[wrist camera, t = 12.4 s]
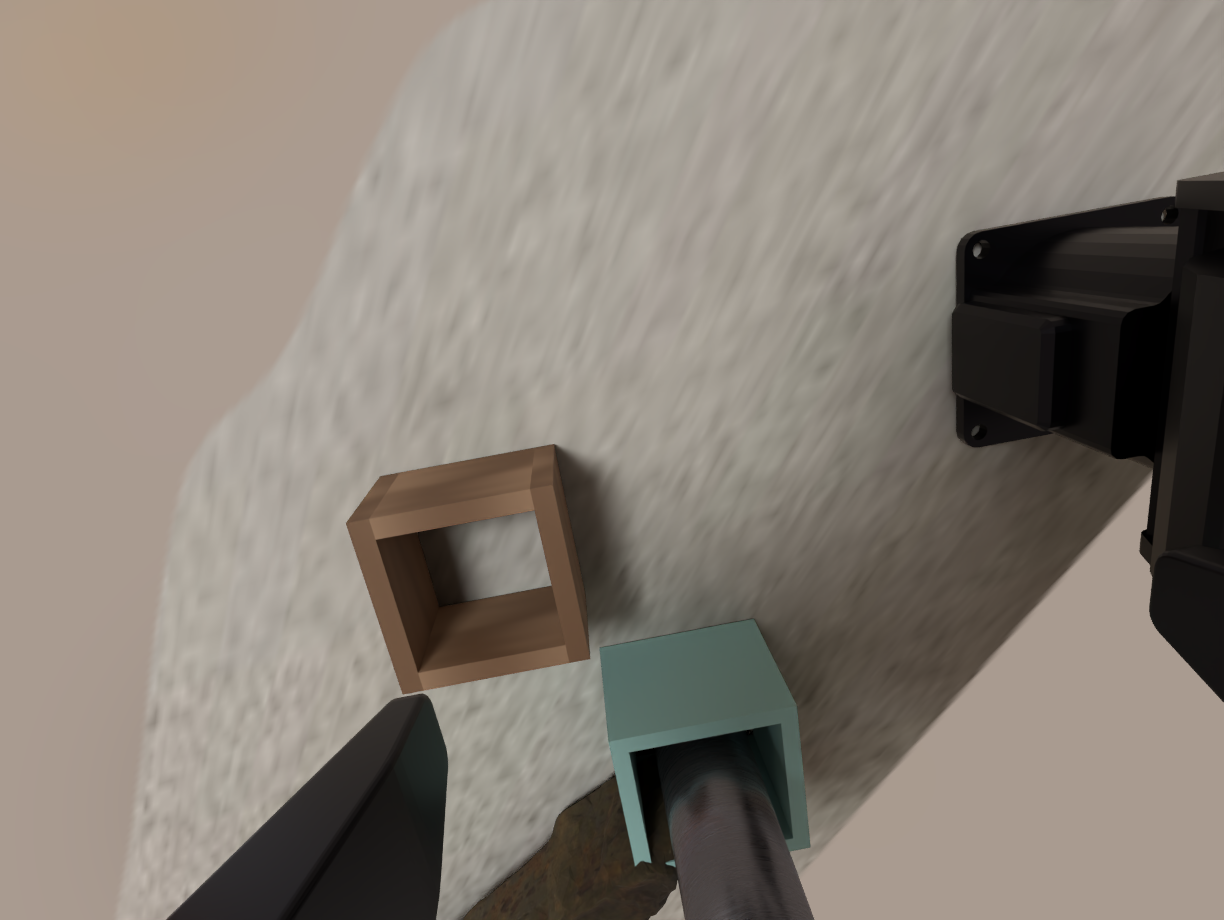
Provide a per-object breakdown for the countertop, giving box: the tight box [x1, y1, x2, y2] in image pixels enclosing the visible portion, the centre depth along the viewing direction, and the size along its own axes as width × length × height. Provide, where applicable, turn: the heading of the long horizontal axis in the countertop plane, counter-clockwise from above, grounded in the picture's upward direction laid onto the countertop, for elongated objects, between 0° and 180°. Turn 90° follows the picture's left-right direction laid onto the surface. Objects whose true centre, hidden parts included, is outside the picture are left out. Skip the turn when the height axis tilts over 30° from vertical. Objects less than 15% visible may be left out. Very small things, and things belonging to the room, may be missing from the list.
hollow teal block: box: [600, 619, 810, 867], centre depth 22 cm, size 5×5×4 cm
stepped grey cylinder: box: [654, 730, 814, 920], centre depth 18 cm, size 3×3×13 cm
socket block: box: [346, 444, 590, 694], centre depth 20 cm, size 5×5×4 cm
